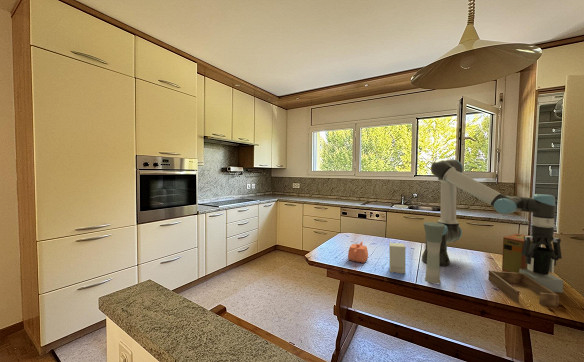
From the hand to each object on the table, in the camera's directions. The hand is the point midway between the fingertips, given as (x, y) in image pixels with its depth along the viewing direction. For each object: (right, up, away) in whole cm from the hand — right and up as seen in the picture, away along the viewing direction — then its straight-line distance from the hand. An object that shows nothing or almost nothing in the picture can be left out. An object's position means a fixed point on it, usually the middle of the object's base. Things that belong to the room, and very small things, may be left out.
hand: (540, 270), depth 119 cm
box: (+5, -7, +17) cm, 19 cm away
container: (-50, -8, +6) cm, 51 cm away
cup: (0, -1, 0) cm, 1 cm away
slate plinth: (0, -8, 0) cm, 8 cm away
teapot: (-81, -6, +36) cm, 89 cm away
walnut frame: (-15, -8, -5) cm, 18 cm away
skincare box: (-64, -7, +18) cm, 66 cm away
